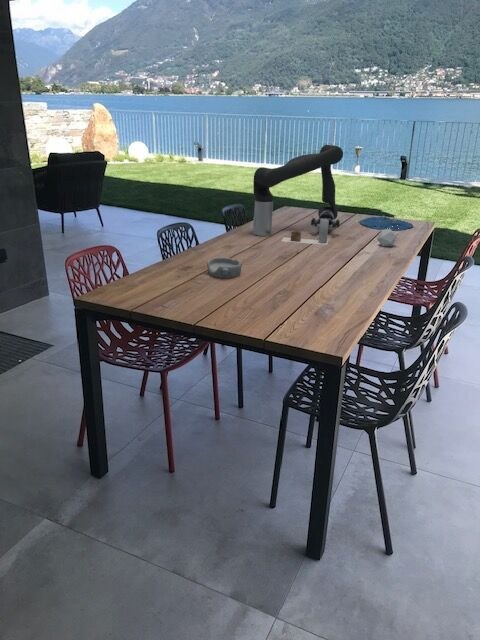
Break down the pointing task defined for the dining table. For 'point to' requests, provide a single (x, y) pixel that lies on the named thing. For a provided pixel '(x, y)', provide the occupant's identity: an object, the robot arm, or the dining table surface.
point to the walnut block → (296, 235)
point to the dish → (224, 267)
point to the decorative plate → (385, 223)
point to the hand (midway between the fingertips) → (324, 225)
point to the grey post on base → (322, 235)
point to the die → (386, 238)
